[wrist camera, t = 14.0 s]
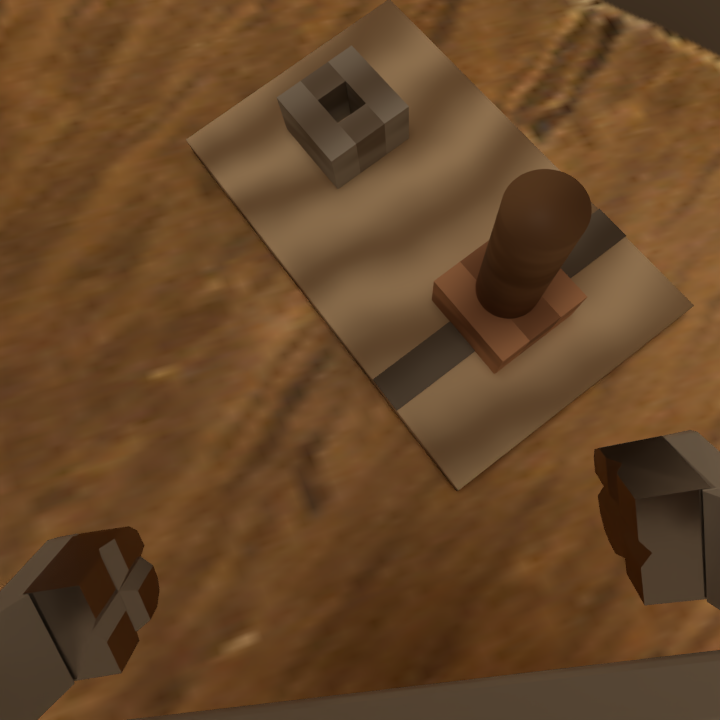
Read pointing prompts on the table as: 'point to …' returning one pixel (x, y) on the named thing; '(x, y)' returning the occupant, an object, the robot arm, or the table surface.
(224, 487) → the table surface
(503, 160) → the subfloor panel
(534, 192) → the brown wooden peg
